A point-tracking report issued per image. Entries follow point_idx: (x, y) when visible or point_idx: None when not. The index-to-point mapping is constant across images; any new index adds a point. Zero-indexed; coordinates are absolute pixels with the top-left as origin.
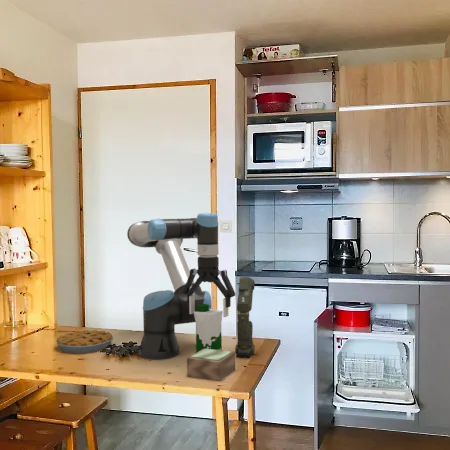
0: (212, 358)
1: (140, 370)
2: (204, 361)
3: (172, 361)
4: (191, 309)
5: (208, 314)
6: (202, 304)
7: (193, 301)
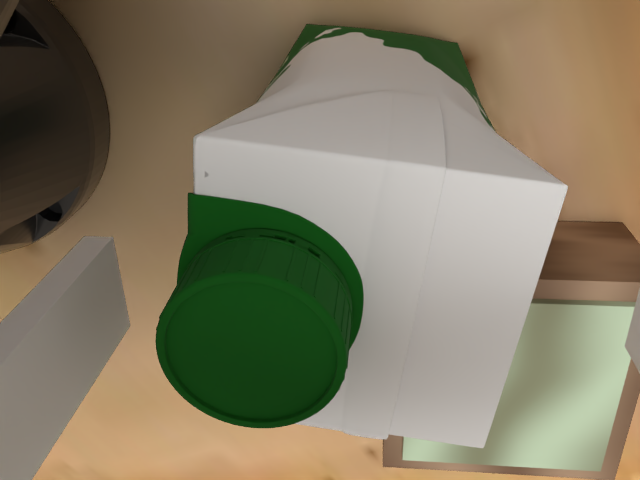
0: (551, 459)
1: (115, 391)
2: (503, 468)
3: (161, 216)
4: (103, 358)
5: (435, 440)
6: (195, 301)
7: (34, 380)
